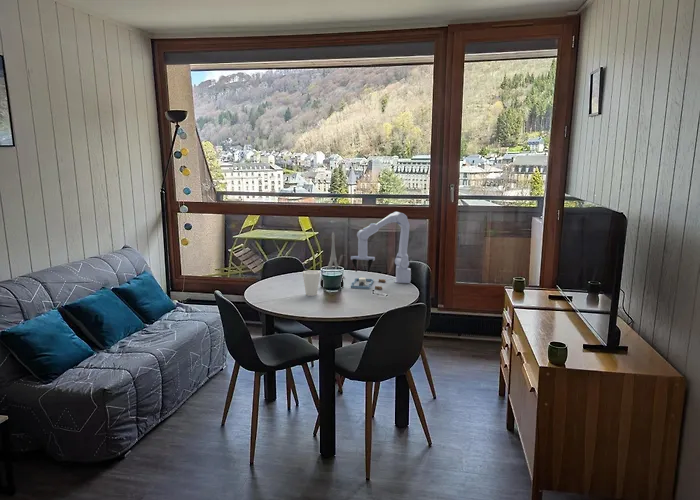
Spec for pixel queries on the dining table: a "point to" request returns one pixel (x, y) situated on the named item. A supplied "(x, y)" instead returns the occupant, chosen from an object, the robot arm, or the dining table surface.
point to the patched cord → (362, 281)
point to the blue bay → (362, 286)
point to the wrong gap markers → (380, 286)
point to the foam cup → (311, 282)
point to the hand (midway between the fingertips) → (362, 271)
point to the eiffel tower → (333, 254)
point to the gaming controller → (322, 283)
